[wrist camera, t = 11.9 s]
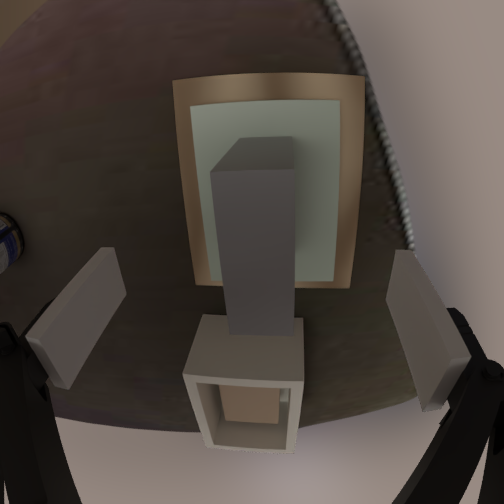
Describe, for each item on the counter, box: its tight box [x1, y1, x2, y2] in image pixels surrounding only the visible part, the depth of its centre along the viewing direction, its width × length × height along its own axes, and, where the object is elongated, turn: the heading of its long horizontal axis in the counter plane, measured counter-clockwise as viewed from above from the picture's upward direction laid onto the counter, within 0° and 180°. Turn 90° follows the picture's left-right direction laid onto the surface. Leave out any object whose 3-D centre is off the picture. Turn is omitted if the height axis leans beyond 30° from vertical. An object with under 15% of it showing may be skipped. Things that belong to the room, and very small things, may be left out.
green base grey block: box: [190, 99, 340, 336], centre depth 20 cm, size 10×14×11 cm
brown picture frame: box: [173, 73, 365, 288], centre depth 25 cm, size 14×18×1 cm
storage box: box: [182, 314, 304, 454], centre depth 32 cm, size 10×14×8 cm
